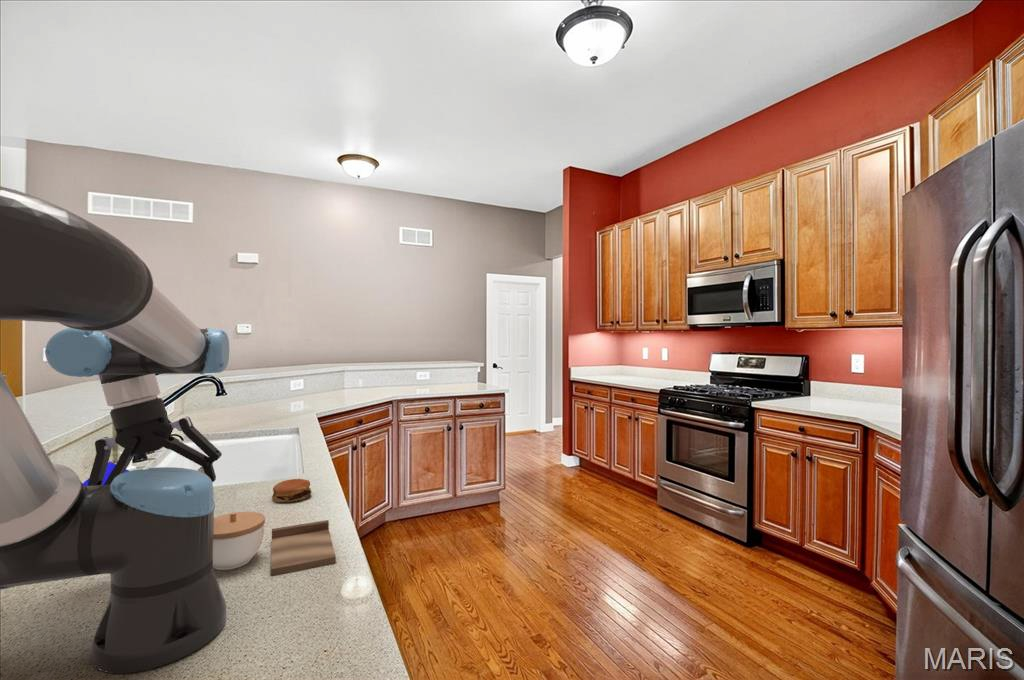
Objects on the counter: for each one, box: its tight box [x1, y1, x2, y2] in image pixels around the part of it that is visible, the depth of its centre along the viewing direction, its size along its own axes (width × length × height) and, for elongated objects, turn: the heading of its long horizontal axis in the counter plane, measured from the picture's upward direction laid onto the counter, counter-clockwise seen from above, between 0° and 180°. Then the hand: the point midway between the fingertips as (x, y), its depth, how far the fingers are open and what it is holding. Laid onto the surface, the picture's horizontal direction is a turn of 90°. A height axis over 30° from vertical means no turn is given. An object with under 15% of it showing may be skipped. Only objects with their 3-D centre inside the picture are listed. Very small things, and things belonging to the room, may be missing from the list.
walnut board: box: [270, 519, 337, 577], centre depth 91 cm, size 15×11×3 cm
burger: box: [271, 478, 312, 503], centre depth 122 cm, size 10×9×5 cm
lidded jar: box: [213, 511, 266, 571], centre depth 87 cm, size 11×11×9 cm
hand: (169, 513), depth 83 cm, fingers open, 13 cm apart
